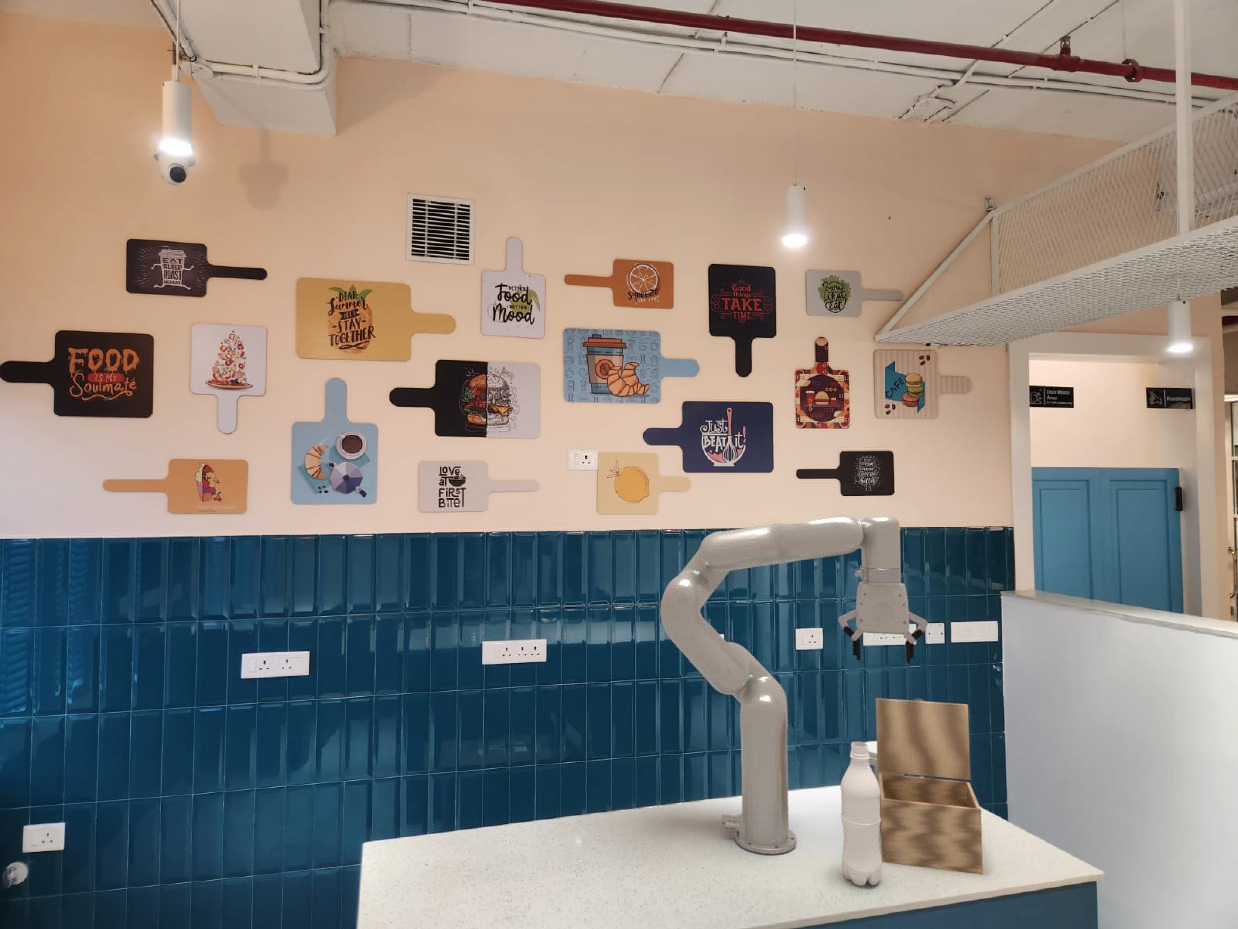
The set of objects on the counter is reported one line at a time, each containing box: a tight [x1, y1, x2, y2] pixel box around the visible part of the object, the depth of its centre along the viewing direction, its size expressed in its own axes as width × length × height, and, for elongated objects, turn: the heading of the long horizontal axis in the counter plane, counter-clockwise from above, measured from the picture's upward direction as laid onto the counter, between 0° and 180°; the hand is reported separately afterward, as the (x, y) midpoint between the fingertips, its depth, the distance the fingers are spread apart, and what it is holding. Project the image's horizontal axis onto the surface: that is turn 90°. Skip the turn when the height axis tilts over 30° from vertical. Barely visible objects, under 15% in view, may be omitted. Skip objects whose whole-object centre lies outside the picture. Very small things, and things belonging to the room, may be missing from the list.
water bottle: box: [840, 741, 883, 887], centre depth 143 cm, size 7×7×25 cm
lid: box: [875, 697, 971, 781], centre depth 165 cm, size 18×15×8 cm
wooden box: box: [879, 773, 984, 875], centre depth 154 cm, size 18×15×12 cm
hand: (882, 660), depth 155 cm, fingers open, 9 cm apart
